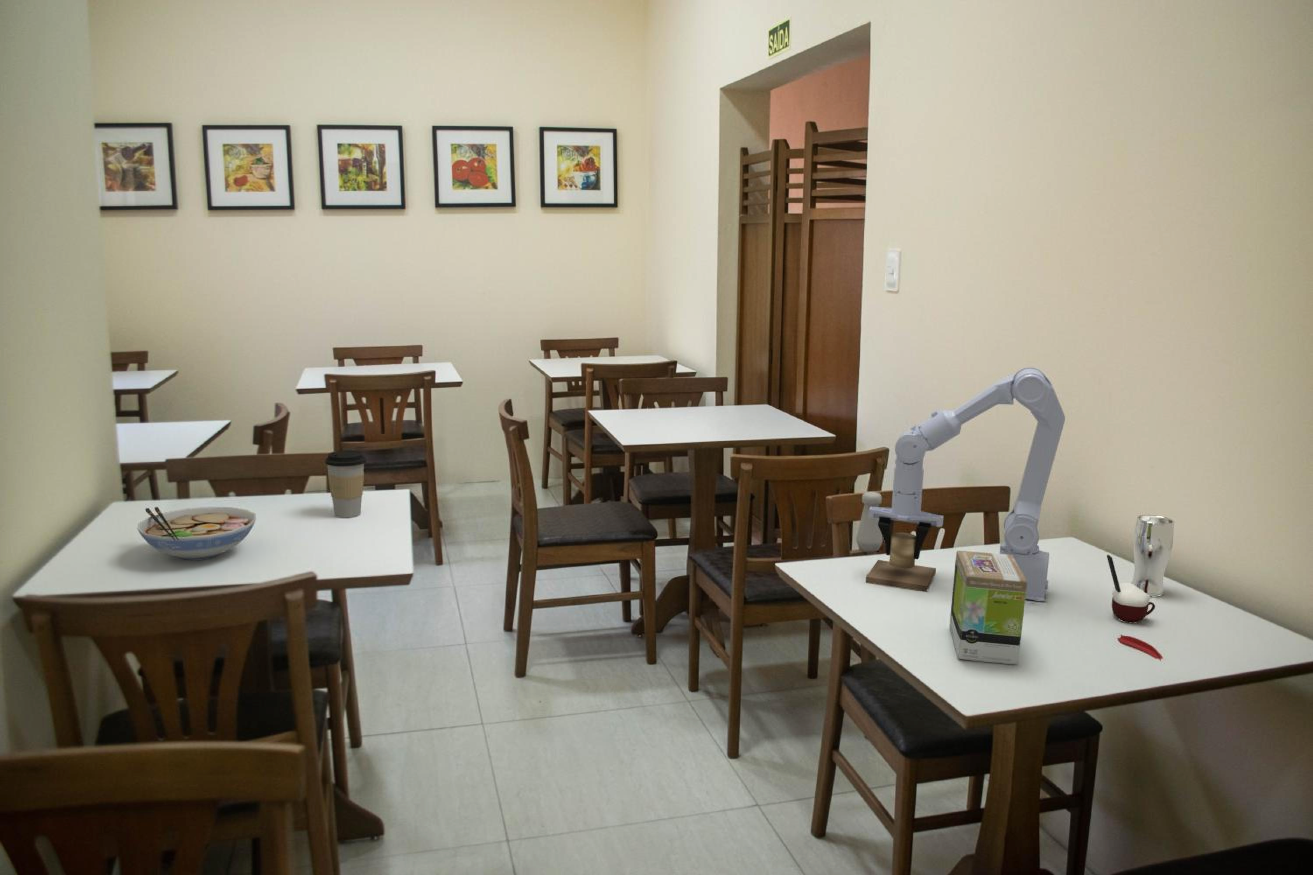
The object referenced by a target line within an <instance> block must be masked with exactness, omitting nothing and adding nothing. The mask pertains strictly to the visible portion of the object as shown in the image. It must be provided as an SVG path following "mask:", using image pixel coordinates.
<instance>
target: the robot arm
mask: <svg viewBox="0 0 1313 875" xmlns="http://www.w3.org/2000/svg"><path fill="white" fill-rule="evenodd" d="M1014 399H1015V400H1016V401H1017V402H1018V403H1019V404H1020V405H1022V406H1023V407H1025V408H1026V409H1028V410H1029V411H1030V413H1031V414H1032V416H1033V417H1034V419H1035V420H1036V421H1037V424H1036V427H1035V430H1034V434H1033V438H1032V441H1031V444H1030V449H1029V453H1028V456H1027V459H1026V464H1025V467H1024V471H1023V475H1022V479H1021V481H1020V486H1019V490H1018V492H1017V497H1016V499H1015V500H1014V503H1013V508H1012V509H1011V511H1010V512H1009V514H1008V515H1006V517H1005V519H1004V522H1003V528H1004V533H1003V535H1004V536H1003V538H1004V540H1003V541H1001V542H1000V544H999V545H1000V547H999V554H1008V555H1013V557H1014V559H1015V560H1016V562H1017V564H1018V566H1019V568H1020V569H1021V571H1022V573H1023V574H1024V577H1025V579H1026V581H1027V589H1026V598H1025V600H1031V601H1038V602H1044V601H1045V598H1046V597H1045V596H1046V591H1047V590H1048V588H1049V580H1048V574H1049V573H1048V572H1049V563H1050V552H1048V551H1042V550H1040V546H1039V545H1038V543H1039V541H1040V534H1039V531H1038V525H1039V521H1040V514H1041V509H1042V505H1043V504H1042V503H1043V501H1044V498H1045V493H1046V490H1047V486H1048V483H1049V479H1050V475H1051V473H1052V472H1051V471H1052V468H1053V465H1054V461H1055V459H1056V457H1055V456H1056V454H1057V450H1058V446H1059V443H1060V440H1061V436H1062V431H1063V430H1064V429H1063V428H1064V425H1065V421H1066V416H1065V413H1064V411H1063V408H1062V405H1061V403H1060V400H1059V398H1058V396H1057V394H1056V390H1055V389H1054V386H1053V384H1052V382H1051V380H1049V378H1048V377H1047V376H1046V375H1045V373H1044V372H1042V371H1041V370H1040V369H1038V368H1036V367H1033V366H1031V367H1030V366H1028V367H1023V368H1021V369H1020V370H1017V372H1015V374H1012V373H1011V374H1010V375H1008V376H1005V377H1004V378H1001V379H1000V380H998V381H996V382H994V383H993V384H991V385H990V386H988V387H987V388H985V389H984V390H982V391H981V392H980V393H978V394H976V395H974V396H973V397H972V398H970V399H968V400H967V401H966V402H964V403H963V404H961V405H960V406H959V407H957V408H956V409H954V410H949V409H941V410H940V411H938V410H934V411H932V412H931V414H930V417H928V418H927V419H926V420H924V421H921V423H919V424H918V425H916V424H913V425H912V426H910V430H906V431H905V432H902V433H901V435H899V437H898V439H897V441H896V443H895V446H894V451H895V452H894V453H895V455H896V458H895V459H894V460H895V463H894V464H895V466H894V470H893V485H892V498H891V507H882V506H881V507H880V506H879V507H870V509H869V518H879V522H878V527H879V529H880V531H881V533H882V540H883V542H884V546H885V547H884V548H885V554H886V555H885V556H890V546H891V534H893V533H894V523H895V521H897V522H898V521H899V522H903V523H904V522H905V523H911V524H917V526H916V529H915V536H916V547H915V554H914V559H915V560H919V558H920V555H921V551H922V548H923V545H924V542H925V539H926V538H927V536H928V534H929V532H930V530H931V528H932V526H935V527H936V528H942V527H943V525H944V515H942V514H941V515H940V514H935V513H930V512H927V511H922V497H923V485H924V475H925V474H924V468H923V467H924V466H923V465H924V458H925V456H926V453H927V452H930V451H931V452H932V451H934V450H936V449H937V448H939V447H940V446H942V445H944V444H945V443H947V442H948V441H951V439H954V438H955V437H957V436H959V435H960V434H961V431H962V430H961V429H962V425H964V424H966V423H967V422H970V420H972V419H974V418H976V417H978V416H980V415H981V414H983V413H985V412H987V411H989V410H990V409H992V408H994V407H995V406H997V405H1012V406H1013V405H1014Z"/></svg>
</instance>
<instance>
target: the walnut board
mask: <svg viewBox="0 0 1313 875" xmlns="http://www.w3.org/2000/svg"><path fill="white" fill-rule="evenodd" d="M889 561H890V560H882V559H877V561H876V562H875V564H874V565H873V566H872V568H871V569H870V571H869V572H868V574H866V577H865V583H866V584H874V585H881V586H885V587H887V586H888V587H894V588H900V589H906V590H913V591H920V592H925V593H926V592H927V591H928V589H929V588H930V585H932V584H931V583H932V581H933V580H934V578H935V576H936V573H937V568H936V567H930V566H923V565H917V564H916V565H915V566H914V567H912V568H897V567H893V566H891V565H890V564H889Z"/></svg>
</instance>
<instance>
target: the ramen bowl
mask: <svg viewBox="0 0 1313 875" xmlns="http://www.w3.org/2000/svg"><path fill="white" fill-rule="evenodd" d="M154 511H155V513H156V515H155V513H153V511H152V510H151V509H150V508H149V507H145V513H147V514H148V515H149V517H147V518H145V519H144V520H142V521H140V522H139V523H138V525H137V532H138V533H139V535H140V536H141V537H142V538H143V540H144V541H145V542H147V544H149V545H150V546H151V547H152V548H153V549H155V550H157V551H158V552H160V553H162V554H165V555H168V556H170V557H171V556H172V557H177V558H182V559H183V560H188V561H189V560H190V561H201V560H208V559H212V558H214V557H217V556H218V555H220V554H222V553H224V552H227V551H229V550H232V549H233V548H235V547H236V546H237V545H239V544H240V543H242V542H243V541H244V540H245V538H246V537H247V536H248V535H249V533H250V532H251V531H252V529H253V527H254V525H255V522H256V520H257V516H256V513H254V512H252V511H250V510H248V509H244V508H238V507H232V506H204V507H190V508H183V509H177V510H172V511H165V512H161V510H160V508H159V507H158V506H155V507H154Z"/></svg>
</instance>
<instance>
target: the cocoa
mask: <svg viewBox="0 0 1313 875" xmlns="http://www.w3.org/2000/svg"><path fill="white" fill-rule="evenodd" d="M1106 560H1107V562H1108V567H1109V570H1110V574H1111V578H1112V580H1113V585H1114V587H1113V590H1112V592H1111V594H1112V597H1111V609H1112V614H1113V615H1114V616H1115V617H1116V618H1117V619H1118V620H1119V619H1120V620H1119V621H1121V620H1122V622H1124V621H1125V622H1124V623H1129V622H1131V624H1135V622H1137V623H1139V622H1141V621H1144V619H1145V618H1146V617H1147V616H1149V615H1150V614H1152V613H1153V612H1154V610H1155V608H1156V604H1155V603H1154V602H1152V601H1150V599H1151V597H1150V596H1149V595H1148V594H1146V593H1145V592H1144V591H1143V590H1141V589H1139V588H1138V587H1136V586H1135V585H1133V584H1131V583H1132V582H1119V579H1118V575H1117V572H1116V571H1117V570H1116V567H1115V564H1114V563H1115V562H1114V560H1113V557H1112V556H1111V555H1110V554H1107V555H1106ZM1149 606H1151V608H1150V609H1149Z"/></svg>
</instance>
